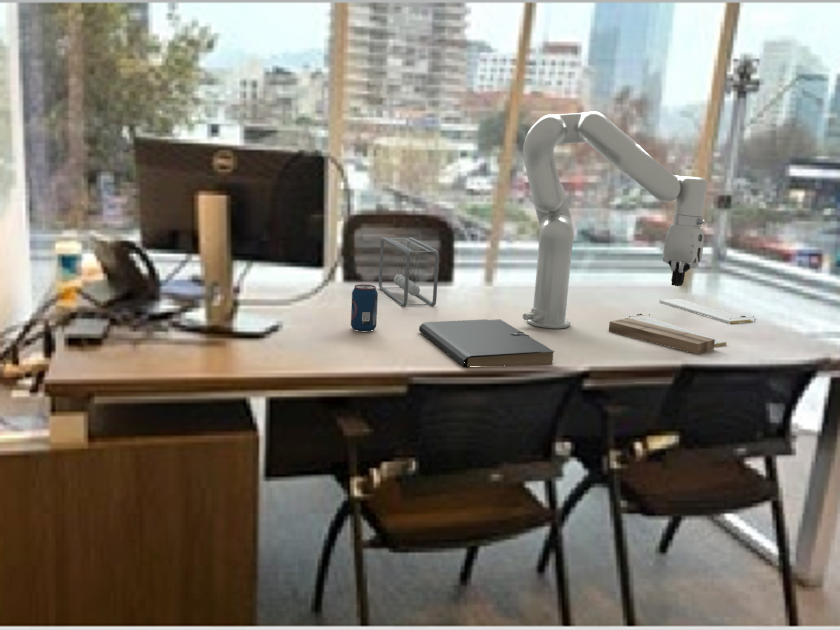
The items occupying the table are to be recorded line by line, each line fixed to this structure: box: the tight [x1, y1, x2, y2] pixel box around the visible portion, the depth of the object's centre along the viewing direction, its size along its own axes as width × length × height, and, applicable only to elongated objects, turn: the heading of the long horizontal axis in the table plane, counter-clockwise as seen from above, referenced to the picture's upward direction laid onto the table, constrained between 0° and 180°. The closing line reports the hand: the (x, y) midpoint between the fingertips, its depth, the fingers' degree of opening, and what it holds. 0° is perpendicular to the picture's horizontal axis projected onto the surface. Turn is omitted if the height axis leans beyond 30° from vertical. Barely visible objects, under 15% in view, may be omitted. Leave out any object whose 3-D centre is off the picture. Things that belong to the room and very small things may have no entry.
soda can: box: [350, 284, 379, 331], centre depth 230 cm, size 7×7×12 cm
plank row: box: [608, 317, 716, 355], centre depth 239 cm, size 9×28×3 cm, turn 43°
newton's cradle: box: [378, 236, 440, 307], centre depth 273 cm, size 30×10×18 cm, turn 18°
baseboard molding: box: [659, 298, 757, 324], centre depth 280 cm, size 31×3×12 cm
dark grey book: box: [418, 318, 555, 367], centre depth 220 cm, size 33×4×24 cm
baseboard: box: [628, 313, 727, 347], centre depth 248 cm, size 30×3×10 cm
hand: (676, 285), depth 242 cm, fingers closed
